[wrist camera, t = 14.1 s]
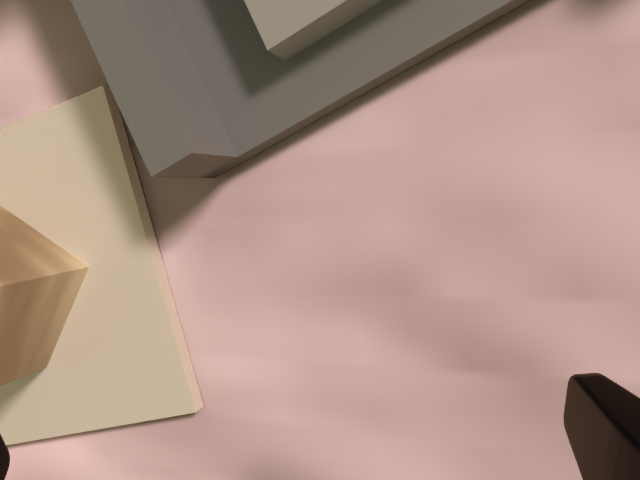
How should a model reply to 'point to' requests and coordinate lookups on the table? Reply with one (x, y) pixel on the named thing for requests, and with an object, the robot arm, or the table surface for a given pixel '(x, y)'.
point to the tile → (94, 278)
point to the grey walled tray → (256, 66)
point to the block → (32, 296)
